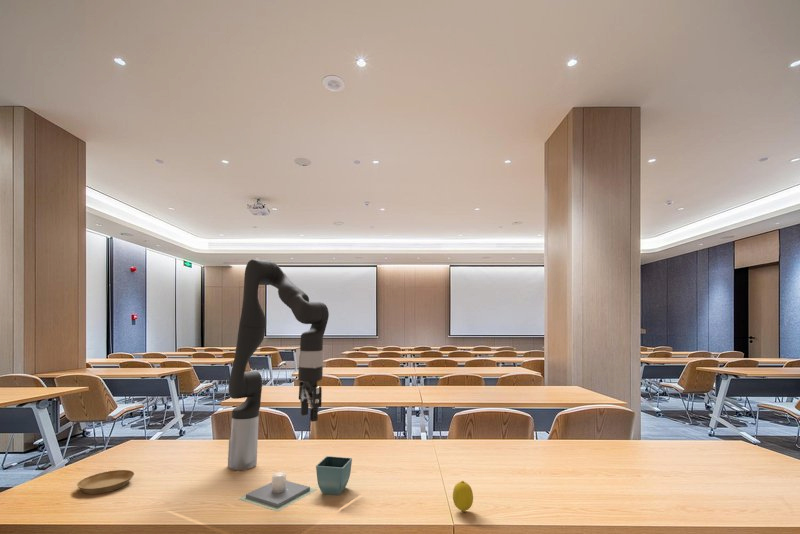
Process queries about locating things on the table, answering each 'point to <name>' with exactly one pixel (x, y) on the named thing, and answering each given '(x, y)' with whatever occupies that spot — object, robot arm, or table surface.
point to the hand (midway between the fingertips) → (308, 417)
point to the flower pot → (333, 474)
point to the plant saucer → (105, 481)
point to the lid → (278, 491)
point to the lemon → (462, 496)
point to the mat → (276, 507)
